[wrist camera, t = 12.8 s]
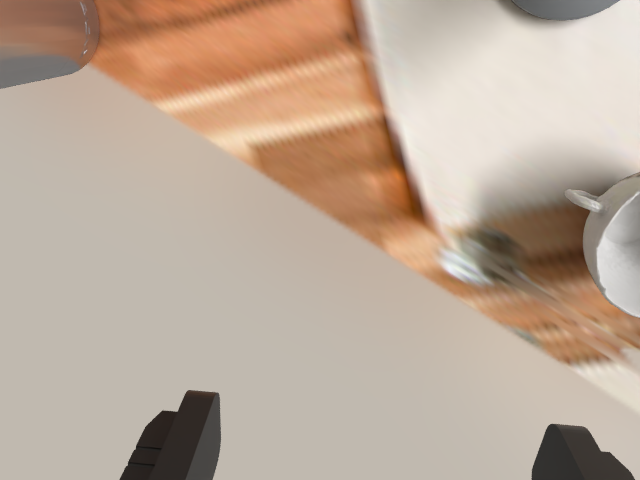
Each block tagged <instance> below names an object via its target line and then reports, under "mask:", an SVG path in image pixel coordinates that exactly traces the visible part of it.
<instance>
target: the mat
mask: <svg viewBox="0 0 640 480" xmlns="http://www.w3.org/2000/svg"><path fill="white" fill-rule="evenodd" d="M512 1H513V2H514V4H516V5H517V6H518V7H520V8H521V9H522V10H524V11H526V12H528V13H530V14H531V15H534V16H537V17H540V18H544V19H550V20H573V19H579V18H584V17H588V16H591V15H593V14H596V13H599V12H601V11H603V10H605V9H607V8H609V7H610V6H612V5H613V4H615V3H617V2H618V1H620V0H512Z"/></svg>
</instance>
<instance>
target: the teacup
mask: <svg viewBox="0 0 640 480" xmlns="http://www.w3.org/2000/svg"><path fill="white" fill-rule="evenodd" d="M564 194H565V197H566V198H568V199H569V200H570V201H571V202H572V203H574V204H576V205H578V206H581V207H583V208H585V209H588V210H590V213H589V216H588V218H587V220H586V223H585V227H584V233H583V251H584V256H585V261H586V264H587V267H588V269H589V272H590V274H591V276H592V278H593V280H594V282H595V284H596V285H597V287H598V288H599V290H600V291H601V293H602V295H603V296H604V297H605V298H606V299H607V300H608V301H609V302H610V303H611V304H612V305H614V306H615V307H617V308H618V309H620V310H621V311H623V312H625V313H627V314H629V315H631V316H634V317H638V318H640V172H639V173H637V174H634V175H632V176H629V177H627V178H625V179H623V180H621V181H620V182H618V183H616V184H615V185H614V186H612V187H611V188H610V189H609V190H607V191H606V192H605V193H604V194H603V195H601V196H599V197H598V196H594V195H591V194H589V193H587V192H585V191H582V190H570V189H567V190H565V192H564Z"/></svg>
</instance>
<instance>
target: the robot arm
mask: <svg viewBox="0 0 640 480" xmlns="http://www.w3.org/2000/svg"><path fill="white" fill-rule="evenodd" d="M99 32H100V31H99V18H98V14H97V10H96V6H95V4H94V1H93V0H0V89H1V88H6V87H11V86H16V85H20V84H25V83H30V82H35V81H41V80H45V79H50V78H54V77H59V76H64V75H68V74H72V73H74V72H76V71H78V70H80V69H81V68H83V67H84V66H85V65H86V64H87V63H88V62H89V61H90V59H91V58H92V56H93V55H94V53H95V50H96V47H97V45H98V39H99ZM220 430H221V427H220V397H219V393H215V392H203V391H192V390H188V391H187V392H186V394H185V396H184V398H183V401H182V403H181V405H180V407H179V410H178V412H173V411H162V412H160V413H159V414H158V415H157V416H156V417H155V418H154V419H153V420H152V421H151V422H150V423H149V424H148V425H147V426H146V427H145V429H144V431H143V433H142V435H141V437H140V439H139V441H138V443H137V445H136V450H134V451H133V453H132V455H131V458H130V459H129V462H128V466H126V468H125V470H124V472H123V474H122V476H121V478H120V480H212V479H213V476H214V473H215V469H216V466H217V462H218V457H219V452H220V442H221V431H220ZM532 480H635V479H634V477H633V476H632V474H631V472H630V471H629V470H628V469H627V468H626V467H625V466H624V465H623V464H621V463H620V462H619V461H618V460H617V459H616V458H615V457H614V456H613V455H612V454H611V453H610V452H601V451H600V449H599V447H598V445H597V444H596V442H595V440H594V438H593V437H592V435H591V433H590V432H589V431H588V429H586V428H585V427H582V426H570V425H560V424H550V425H549V426H548V427H547V429H546V432H545V435H544V438H543V440H542V443H541V446H540V448H539V451H538V454H537V457H536V460H535V462H534V465H533V469H532Z"/></svg>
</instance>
